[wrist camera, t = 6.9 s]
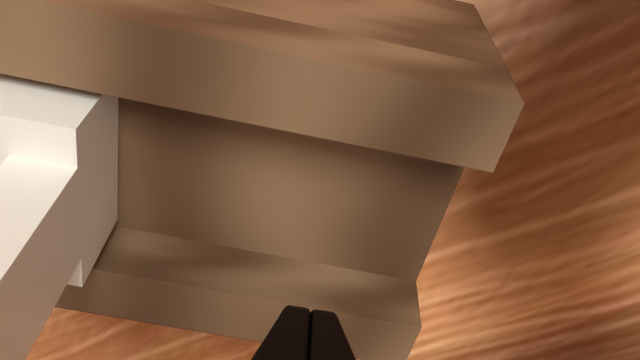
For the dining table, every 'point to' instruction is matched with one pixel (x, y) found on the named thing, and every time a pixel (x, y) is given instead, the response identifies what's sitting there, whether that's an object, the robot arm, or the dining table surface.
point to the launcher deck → (274, 151)
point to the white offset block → (51, 199)
